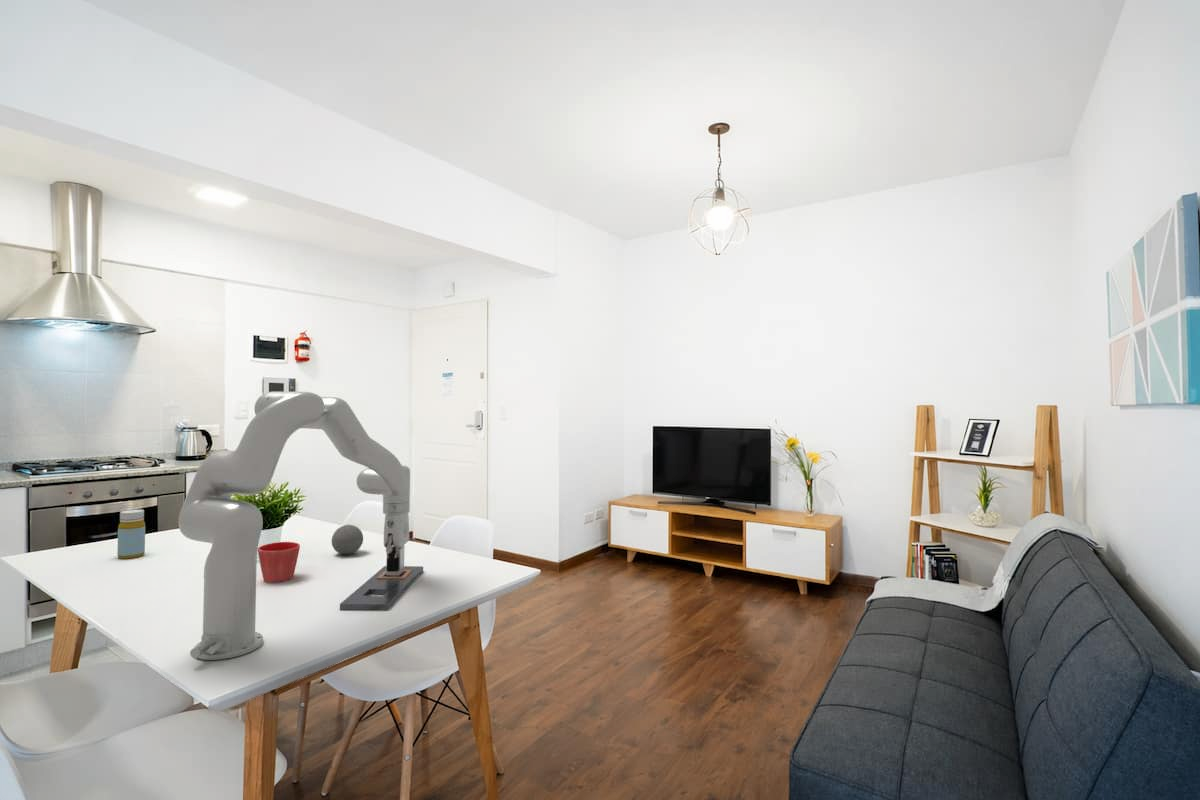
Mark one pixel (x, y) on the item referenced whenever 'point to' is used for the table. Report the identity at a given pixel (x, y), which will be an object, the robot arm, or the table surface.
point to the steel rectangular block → (401, 563)
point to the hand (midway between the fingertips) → (395, 568)
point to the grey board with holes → (381, 590)
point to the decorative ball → (347, 539)
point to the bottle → (131, 534)
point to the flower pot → (278, 560)
